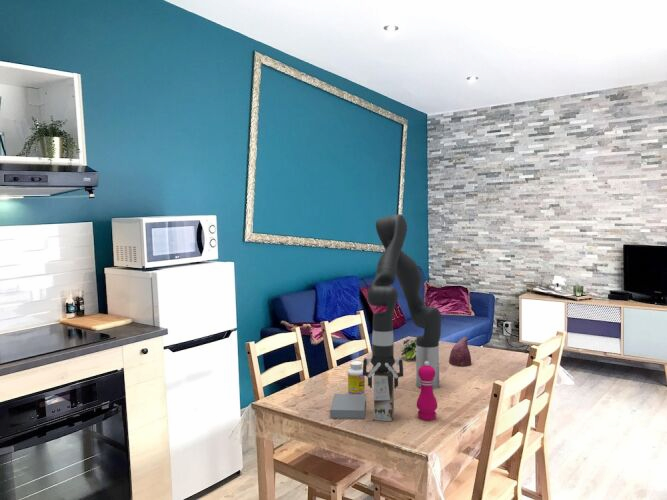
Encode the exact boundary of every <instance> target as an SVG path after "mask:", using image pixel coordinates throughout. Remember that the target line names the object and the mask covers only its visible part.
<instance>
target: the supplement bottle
mask: <svg viewBox="0 0 667 500" xmlns="http://www.w3.org/2000/svg"><path fill="white" fill-rule="evenodd" d="M349 364H350V365H349V367H350V368H349V369H348V370H347V394H366V393H365V391H366V390H365V389H366V388H365V387H366V380H365V378H366V376H363V363H362V361H359V360H358V361H355V360H354V361H351V362H350V363H349Z"/></svg>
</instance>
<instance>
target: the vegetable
mask: <svg viewBox="0 0 667 500" xmlns="http://www.w3.org/2000/svg"><path fill="white" fill-rule="evenodd" d="M471 357H472V356H471V352H470V350H469V346H468V337H467V336H463V337H461V339H460V340H459V341H458V342H456V343H455V344H454V345H453V347H452V349H451V350H450V354H449V359H448V363H449V364H450V365H451V366H454V367H461V368H464V367H465V368H466V367H469V366H471V365H472V358H471Z"/></svg>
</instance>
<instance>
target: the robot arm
mask: <svg viewBox="0 0 667 500" xmlns="http://www.w3.org/2000/svg"><path fill="white" fill-rule="evenodd" d="M375 230H376V233H377V235H378V239H379V241H380V242H381V244H382V246H383V248H384V251H383V253H382V254H381V256H380V257H379V259H378V263H377V267H376V272H375V277H374V279H373V281H372V283H371V285H370V287H369V288H368V291H367V295H366V298H367V302H368V303H369V304H370V306H372V307H387V308H386V310H384V311H379V312H375V313H373V314H372V335H371V339H372V340H371V343H372V344H371V349H372V351H371V353H372V354H371V355H372V356H371V358H367V357H364V358H363V363H362V369H363V376H365V377H367V385H368V387H369V388H370V389H372V388H373V376H374V374H375V371H376V370H377V371H385V372H387V371H390V372H391V373H392V374H393V387H394V389H397V387H399V379H400V378H402V377H404V364H403V358H402V357H399V358H397V359H396V358H395V356H394V355H395V353H394V352H395V351H394V347H395V346H394V345H395V343H394V342H395V341H394V339H395V338H394V327H393V325H394V320H393V319H394V313H395V308H396V306H397V302H398V298H399V292H398V290H397V288H396V287H394V286H391V285H393V284H394V283H395V281H396V279H397V282H399V285H400V287H401V291H402V293H403V295H404V298H405V301H406V303H407V306H408V307H407V308H408V311H409V315H410V318H411V321H412V323H413V324H414V325H415V327H419V328H421V329H423V335H419V336H417V337H416V338H415V339H416V348H415V351H416V355H415V369H416V370H415V371H416V372H415V373H416V374H415V377H416V378H415V379H416V380H415V381H416V384H415V385H416V386H417V387H418V388H420V389H421V384H420V377H419V375H418V370H419V368H420V367H421V366H424V362H425V361H428V362H429V366H432V367H433V368H434V369H435V377H434V378H433V379H434V384H433V389H439V388H440V362H439V360H440V359H439V358H440V357H439V355H440V354H439V349H440V348H439V345H440V344H439V343H440V342H439V341H440V339H441V332H442V328H441V327H442V315H441V312H440V310H439V309H438V308H437V307H434V306H433V307H432V306H427V305H425V304H424V302H423V300H422V297H421V292H420V291H421V287H422V281H423V280H422V275H421V271H420V269H419V267H418V264H417V263H416V261H415V260H414V259H413V258H412V257H411V256H409V255H408V254H407V253H405V252H404V251H403V246H404V243H405V240H406V237H407V232H408V225H407V220H406V218H405V217H404V216H403V215H402V214H393V215H389V216H385V217H381V218H378V219H377V220H376V221H375ZM370 363H371V364H372V367H371V368H370V370H369V371H367V367H368V365H369V364H370ZM395 364H396V365H397V366H399V367H398V368H399V371H398V372H397V370H396V369H395V368H394V367H393V366H394V365H395Z"/></svg>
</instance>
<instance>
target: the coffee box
mask: <svg viewBox="0 0 667 500" xmlns="http://www.w3.org/2000/svg"><path fill="white" fill-rule="evenodd" d="M394 389H395V388H394V376H393V374H392V373H391V372H390V371H387V372H385V371H377V370H376V371H375V373H374V374H373V420H374V421H383V422H392V420H393V417H394V411H395V410H394V407H395V405H394V401H395V400H394V399H395V398H394V395H395V394H394V393H395V392H394Z"/></svg>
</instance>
